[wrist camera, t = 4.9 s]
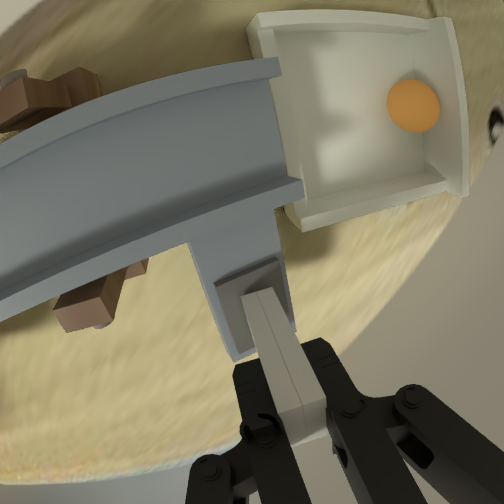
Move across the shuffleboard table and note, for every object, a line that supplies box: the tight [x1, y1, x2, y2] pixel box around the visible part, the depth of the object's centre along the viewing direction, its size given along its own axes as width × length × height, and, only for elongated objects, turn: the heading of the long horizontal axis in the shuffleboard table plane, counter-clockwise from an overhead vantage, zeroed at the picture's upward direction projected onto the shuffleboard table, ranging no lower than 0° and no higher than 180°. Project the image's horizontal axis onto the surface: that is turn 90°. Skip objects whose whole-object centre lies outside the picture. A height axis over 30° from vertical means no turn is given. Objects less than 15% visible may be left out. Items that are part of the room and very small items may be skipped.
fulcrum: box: [0, 67, 149, 333], centre depth 12 cm, size 12×11×8 cm
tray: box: [245, 9, 470, 233], centre depth 15 cm, size 12×12×4 cm
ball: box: [387, 79, 440, 133], centre depth 15 cm, size 3×3×3 cm
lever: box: [0, 57, 305, 363], centre depth 11 cm, size 20×14×3 cm
